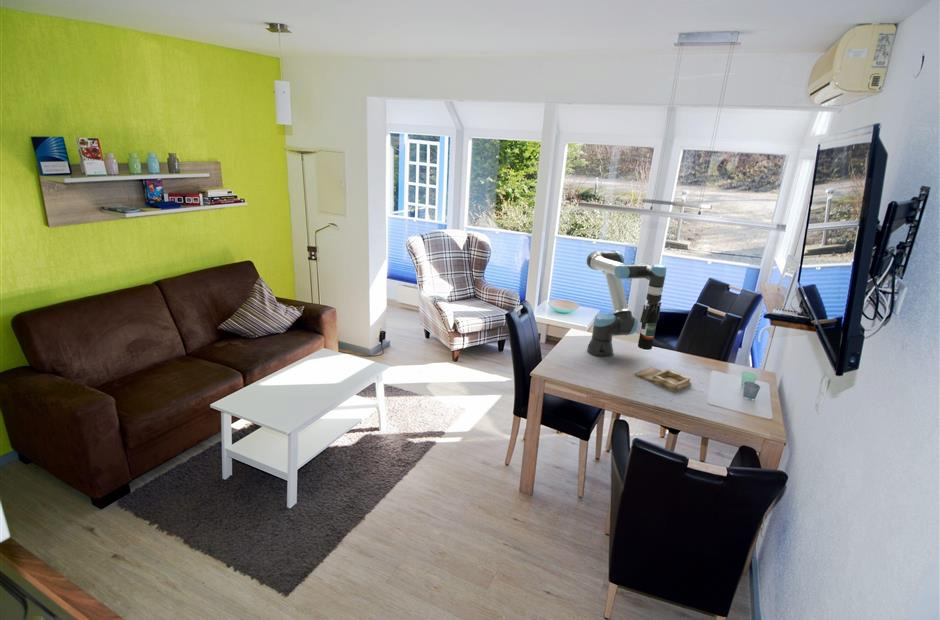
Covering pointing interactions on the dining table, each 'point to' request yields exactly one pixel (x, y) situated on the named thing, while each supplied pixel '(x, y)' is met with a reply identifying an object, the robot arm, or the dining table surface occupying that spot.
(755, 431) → the dining table surface
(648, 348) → the wine bottle
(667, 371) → the board
